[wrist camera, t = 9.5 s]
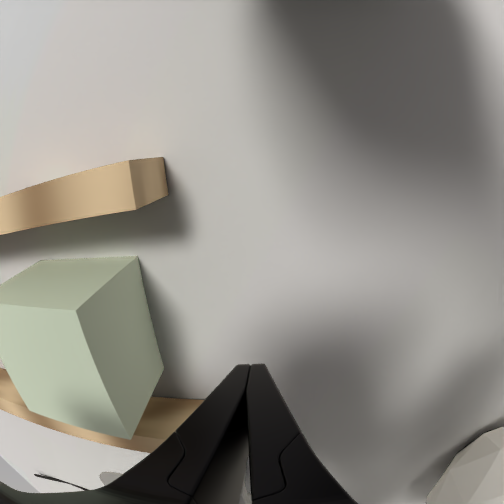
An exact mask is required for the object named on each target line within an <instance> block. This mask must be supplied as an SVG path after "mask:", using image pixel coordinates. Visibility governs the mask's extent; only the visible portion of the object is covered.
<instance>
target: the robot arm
mask: <svg viewBox="0 0 504 504" xmlns="http://www.w3.org/2000/svg"><path fill="white" fill-rule="evenodd" d="M248 454H249V465H250V483H251V500H252V504H358V503H357V502H356V501H355V500H354V499H353V498H352V497H351V496H350V495H349V494H348V493H347V492H346V491H345V490H344V489H343V488H342V486H341V485H340V484H339V483H338V482H337V481H336V480H335V478H334V477H333V476H332V475H331V474H330V473H329V471H328V470H327V469H326V468H325V467H324V465H323V464H322V463H321V461H320V460H319V459H318V458H317V456H316V455H315V453H314V452H313V450H312V449H311V447H310V446H309V444H308V442H307V441H306V439H305V437H304V435H303V434H302V432H301V430H300V428H299V427H298V425H297V423H296V421H295V419H294V418H293V416H292V414H291V412H290V410H289V408H288V407H287V405H286V403H285V401H284V399H283V397H282V395H281V394H280V392H279V390H278V388H277V386H276V384H275V382H274V380H273V379H272V377H271V375H270V373H269V371H268V369H267V367H266V365H265V364H252V365H249V364H239V365H236V366H235V368H234V369H233V370H232V371H231V372H230V373H229V374H228V375H227V376H226V378H225V379H224V380H223V381H222V382H221V383H220V384H219V385H218V386H217V387H216V388H215V389H214V391H213V392H212V393H211V394H210V395H209V396H208V397H207V398H206V399H205V400H204V401H203V402H202V403H201V404H200V405H199V407H198V408H197V409H196V410H195V411H194V412H193V413H192V414H191V415H190V416H189V417H188V418H187V419H186V420H185V421H184V422H183V423H182V424H181V425H180V426H179V427H178V428H177V429H176V432H173V433H172V434H171V435H170V436H169V437H168V438H167V439H166V440H165V441H164V442H163V443H162V444H161V445H160V446H159V447H158V448H156V449H155V450H154V451H153V452H152V453H151V454H149V455H148V456H147V457H146V458H144V459H143V460H142V461H140V462H139V463H138V464H136V465H135V466H134V467H132V468H131V469H130V470H128V471H127V472H125V473H124V474H123V475H121V476H120V477H118V478H117V479H116V480H114V481H113V482H111V483H109V484H108V485H106V486H104V487H101V488H98V489H95V490H89V491H78V492H63V493H26V492H21V491H17V490H15V489H12V488H10V487H9V486H7V485H6V484H4V483H2V482H0V504H239V500H240V495H241V490H242V485H243V480H244V475H245V470H246V465H247V460H248Z"/></svg>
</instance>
